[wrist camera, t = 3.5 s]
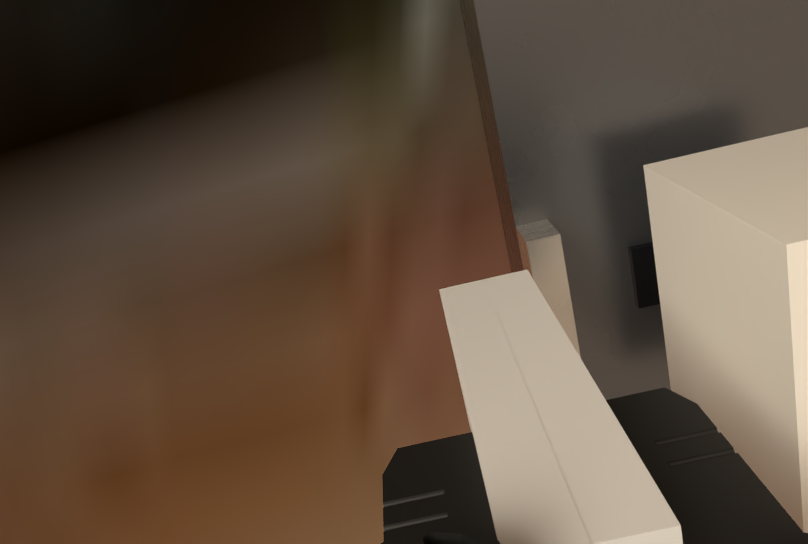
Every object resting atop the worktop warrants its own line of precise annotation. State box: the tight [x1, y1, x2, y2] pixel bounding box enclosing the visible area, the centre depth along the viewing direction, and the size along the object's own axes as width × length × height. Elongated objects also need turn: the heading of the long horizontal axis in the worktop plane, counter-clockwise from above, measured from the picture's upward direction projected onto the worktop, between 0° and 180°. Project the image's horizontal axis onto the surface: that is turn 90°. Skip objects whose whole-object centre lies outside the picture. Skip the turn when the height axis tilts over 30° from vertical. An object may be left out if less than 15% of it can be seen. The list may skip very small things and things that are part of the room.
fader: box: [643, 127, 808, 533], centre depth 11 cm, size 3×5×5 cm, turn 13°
